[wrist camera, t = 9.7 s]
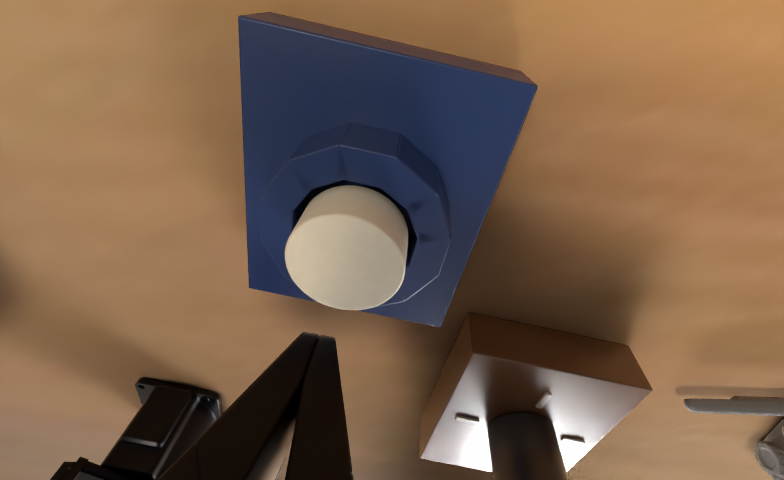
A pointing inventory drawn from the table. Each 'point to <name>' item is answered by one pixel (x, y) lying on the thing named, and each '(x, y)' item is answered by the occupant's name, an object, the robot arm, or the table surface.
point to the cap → (348, 248)
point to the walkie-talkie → (780, 447)
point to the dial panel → (527, 389)
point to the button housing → (372, 146)
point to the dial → (525, 448)
